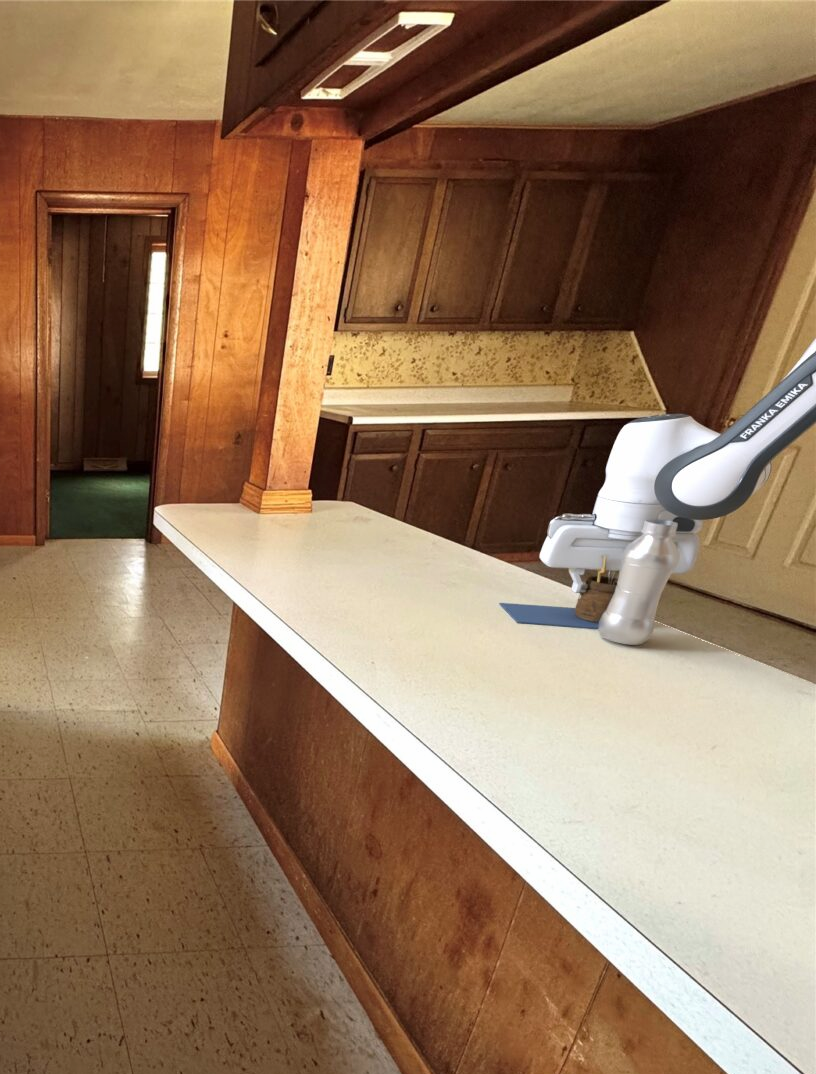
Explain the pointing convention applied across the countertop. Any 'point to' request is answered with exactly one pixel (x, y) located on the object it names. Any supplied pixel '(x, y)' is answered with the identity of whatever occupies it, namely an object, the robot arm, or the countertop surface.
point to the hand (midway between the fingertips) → (602, 593)
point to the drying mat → (546, 615)
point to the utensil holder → (596, 596)
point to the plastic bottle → (640, 584)
